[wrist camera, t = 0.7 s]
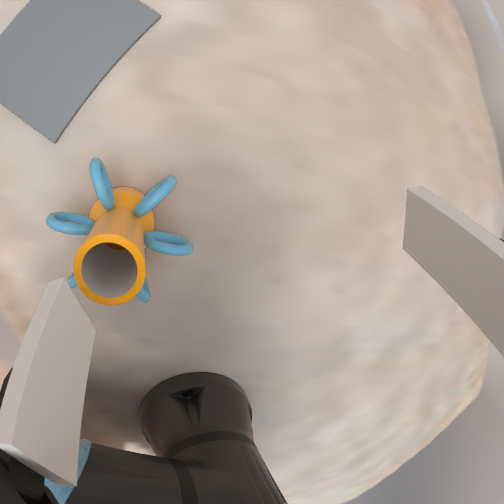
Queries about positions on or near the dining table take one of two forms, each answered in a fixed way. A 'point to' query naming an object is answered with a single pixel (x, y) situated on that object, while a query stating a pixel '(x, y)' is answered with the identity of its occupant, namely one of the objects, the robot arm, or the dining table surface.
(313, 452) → the dining table surface
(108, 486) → the robot arm
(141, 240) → the orange hollow ringed part
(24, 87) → the card
